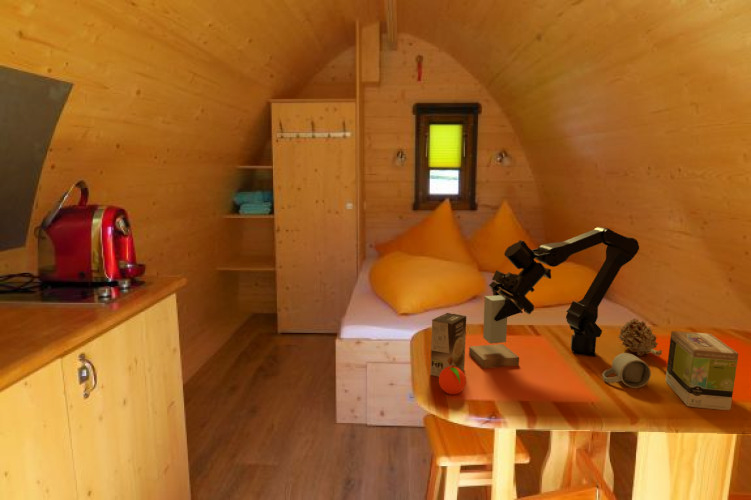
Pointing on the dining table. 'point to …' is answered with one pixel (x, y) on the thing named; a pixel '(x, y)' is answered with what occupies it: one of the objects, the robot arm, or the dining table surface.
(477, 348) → the walnut slab
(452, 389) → the red tomato
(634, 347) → the pine cone
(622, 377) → the ceramic mug
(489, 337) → the wooden block
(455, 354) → the coffee box
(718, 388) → the tea box
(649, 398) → the dining table surface
